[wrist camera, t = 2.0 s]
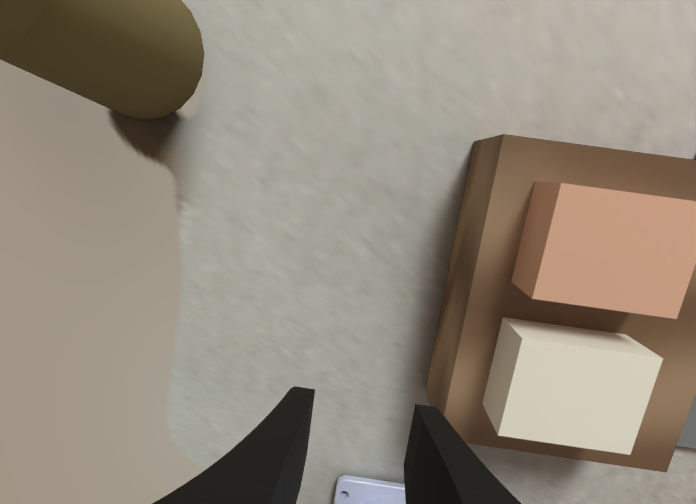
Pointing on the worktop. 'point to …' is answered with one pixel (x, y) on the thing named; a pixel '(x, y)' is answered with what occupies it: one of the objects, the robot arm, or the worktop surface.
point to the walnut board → (510, 302)
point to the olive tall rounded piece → (108, 50)
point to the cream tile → (569, 385)
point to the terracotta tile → (607, 249)
